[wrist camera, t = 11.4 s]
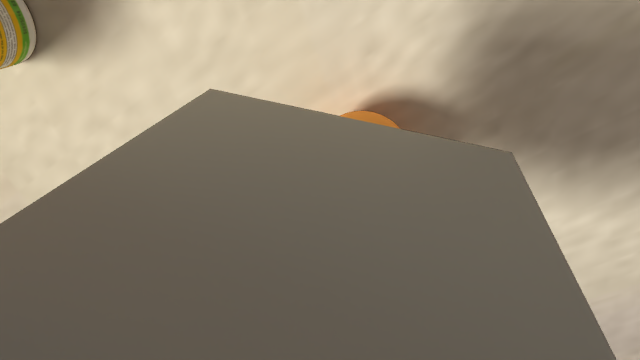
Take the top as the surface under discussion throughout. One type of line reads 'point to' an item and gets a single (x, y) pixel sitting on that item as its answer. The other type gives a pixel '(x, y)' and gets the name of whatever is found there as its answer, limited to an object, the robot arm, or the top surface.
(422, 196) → the grey upright block
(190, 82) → the top surface
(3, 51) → the supplement bottle
